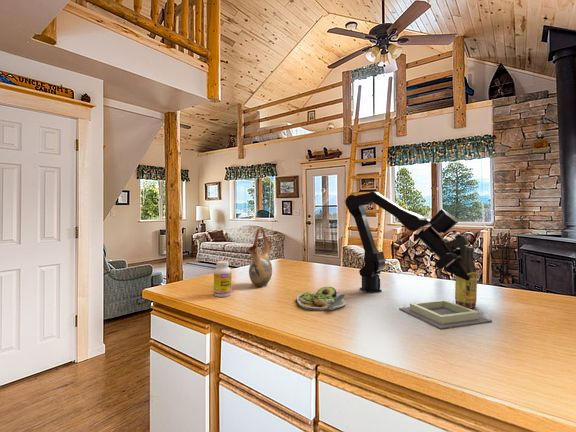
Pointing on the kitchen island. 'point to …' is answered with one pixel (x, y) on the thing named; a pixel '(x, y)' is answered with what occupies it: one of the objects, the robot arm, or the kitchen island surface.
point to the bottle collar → (462, 314)
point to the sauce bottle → (464, 288)
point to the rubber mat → (443, 312)
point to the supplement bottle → (222, 279)
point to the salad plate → (322, 299)
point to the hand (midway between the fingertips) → (470, 277)
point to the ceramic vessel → (260, 262)
